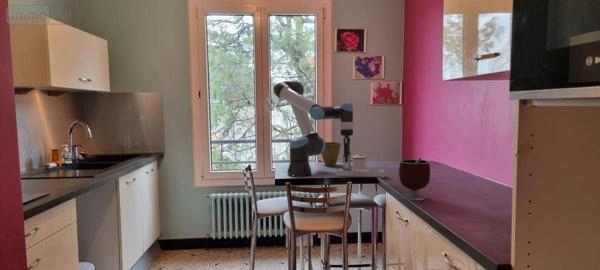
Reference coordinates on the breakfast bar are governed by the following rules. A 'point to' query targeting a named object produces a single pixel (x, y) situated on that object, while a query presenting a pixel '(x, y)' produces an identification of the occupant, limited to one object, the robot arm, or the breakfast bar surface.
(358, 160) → the teacup with lid
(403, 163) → the mate gourd
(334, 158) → the plant pot
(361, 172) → the panel
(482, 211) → the breakfast bar surface
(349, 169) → the plug
